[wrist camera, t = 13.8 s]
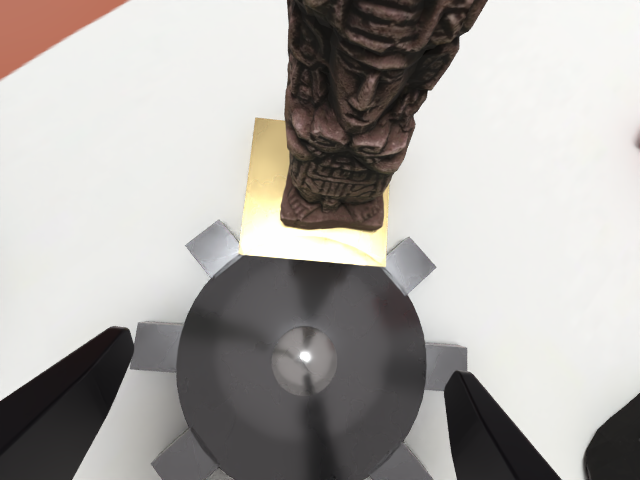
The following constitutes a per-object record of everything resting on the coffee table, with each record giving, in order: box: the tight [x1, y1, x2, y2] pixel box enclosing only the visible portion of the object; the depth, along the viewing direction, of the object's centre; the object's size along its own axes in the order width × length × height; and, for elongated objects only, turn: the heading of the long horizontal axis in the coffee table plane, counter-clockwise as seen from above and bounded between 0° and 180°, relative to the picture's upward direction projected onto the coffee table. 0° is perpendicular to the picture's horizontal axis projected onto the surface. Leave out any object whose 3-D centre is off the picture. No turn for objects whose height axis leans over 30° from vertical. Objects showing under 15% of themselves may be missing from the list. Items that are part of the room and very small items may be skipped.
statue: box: [280, 0, 488, 231], centre depth 13 cm, size 7×7×20 cm
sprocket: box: [130, 118, 467, 480], centre depth 21 cm, size 27×21×2 cm
